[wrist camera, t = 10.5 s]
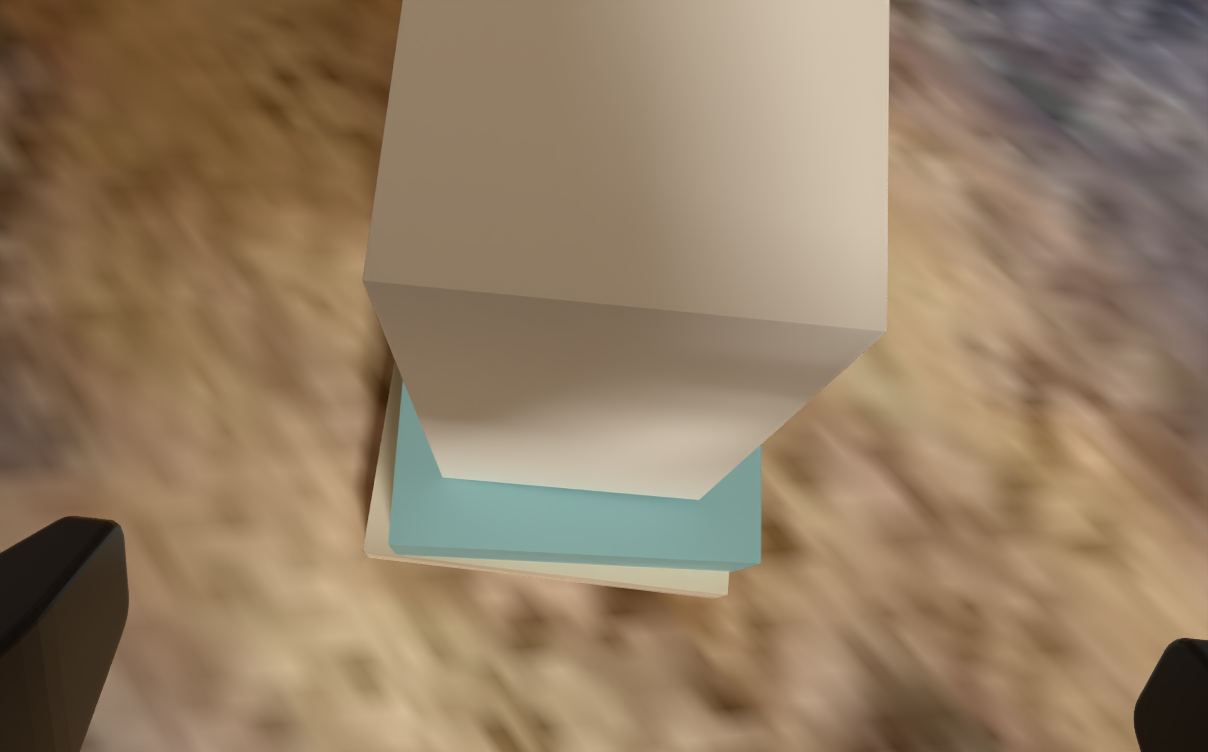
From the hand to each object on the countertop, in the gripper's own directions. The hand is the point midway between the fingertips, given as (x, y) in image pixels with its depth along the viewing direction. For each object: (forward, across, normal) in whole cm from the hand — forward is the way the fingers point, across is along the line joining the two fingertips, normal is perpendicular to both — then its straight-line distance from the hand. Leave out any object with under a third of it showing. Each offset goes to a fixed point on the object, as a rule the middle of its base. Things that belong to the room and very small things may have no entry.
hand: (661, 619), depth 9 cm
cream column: (+10, 0, +3) cm, 11 cm away
